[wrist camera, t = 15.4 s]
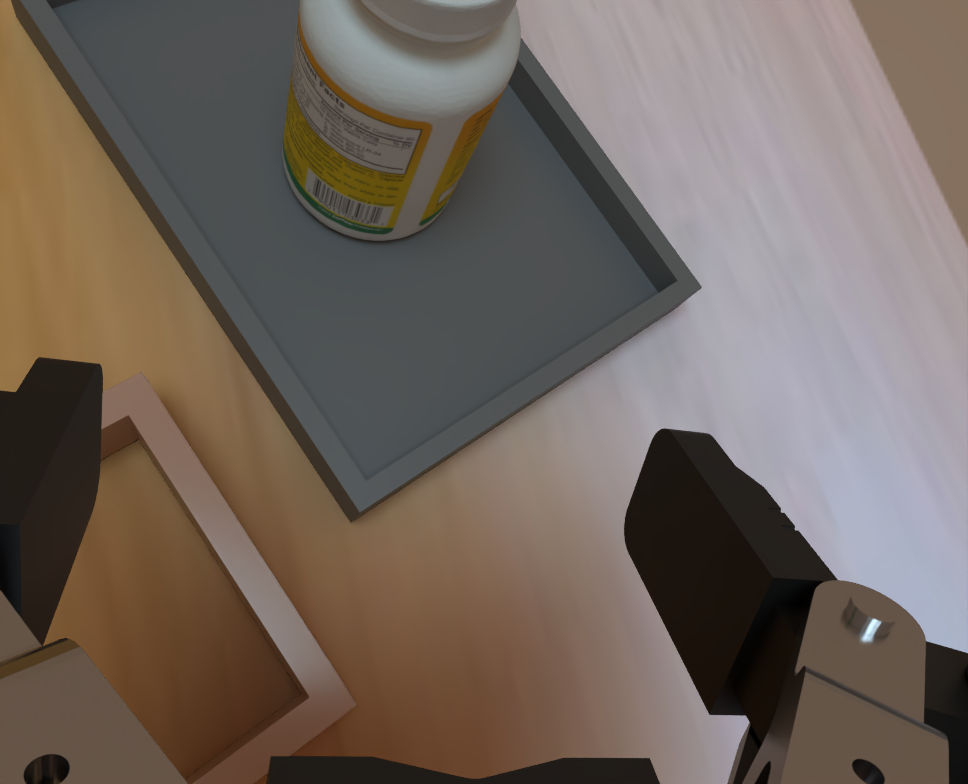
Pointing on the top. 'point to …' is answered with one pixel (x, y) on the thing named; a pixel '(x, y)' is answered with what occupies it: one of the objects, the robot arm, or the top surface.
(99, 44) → the tray
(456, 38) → the supplement bottle
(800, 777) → the robot arm
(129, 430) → the frame
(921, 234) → the top surface
